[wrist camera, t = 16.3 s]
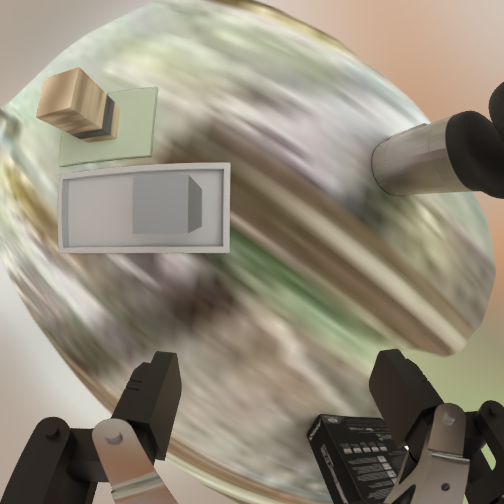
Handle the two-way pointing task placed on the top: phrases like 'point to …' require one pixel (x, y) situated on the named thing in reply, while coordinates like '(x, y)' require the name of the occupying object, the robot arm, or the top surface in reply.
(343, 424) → the graphics card box
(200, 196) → the slate box
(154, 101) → the pad
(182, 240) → the parts tray
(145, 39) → the top surface
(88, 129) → the banded wooden block
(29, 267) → the top surface
